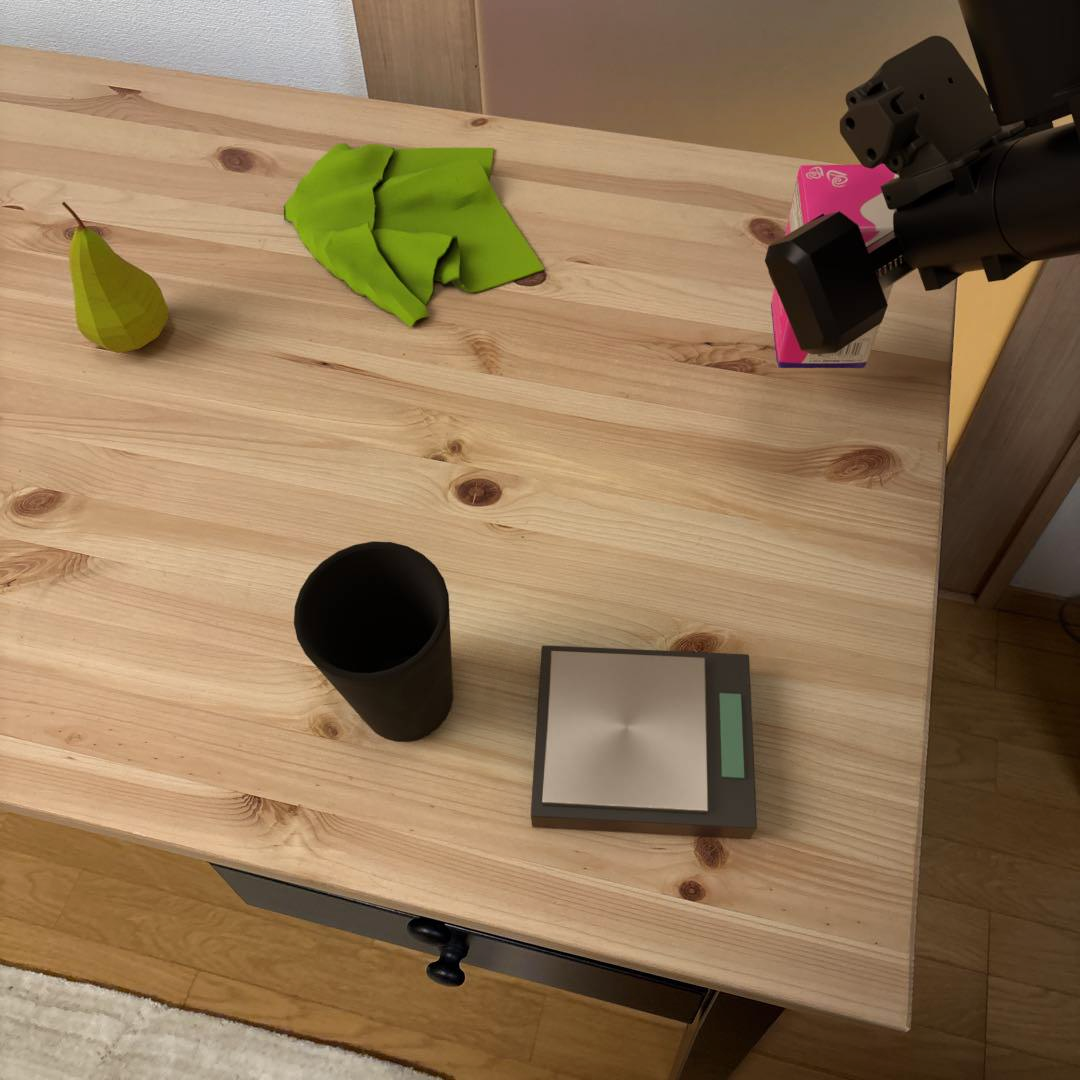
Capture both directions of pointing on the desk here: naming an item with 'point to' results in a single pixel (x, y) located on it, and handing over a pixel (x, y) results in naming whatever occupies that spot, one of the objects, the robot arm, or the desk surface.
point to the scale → (644, 742)
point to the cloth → (408, 224)
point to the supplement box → (865, 206)
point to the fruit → (112, 295)
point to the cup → (381, 636)
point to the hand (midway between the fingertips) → (821, 247)
